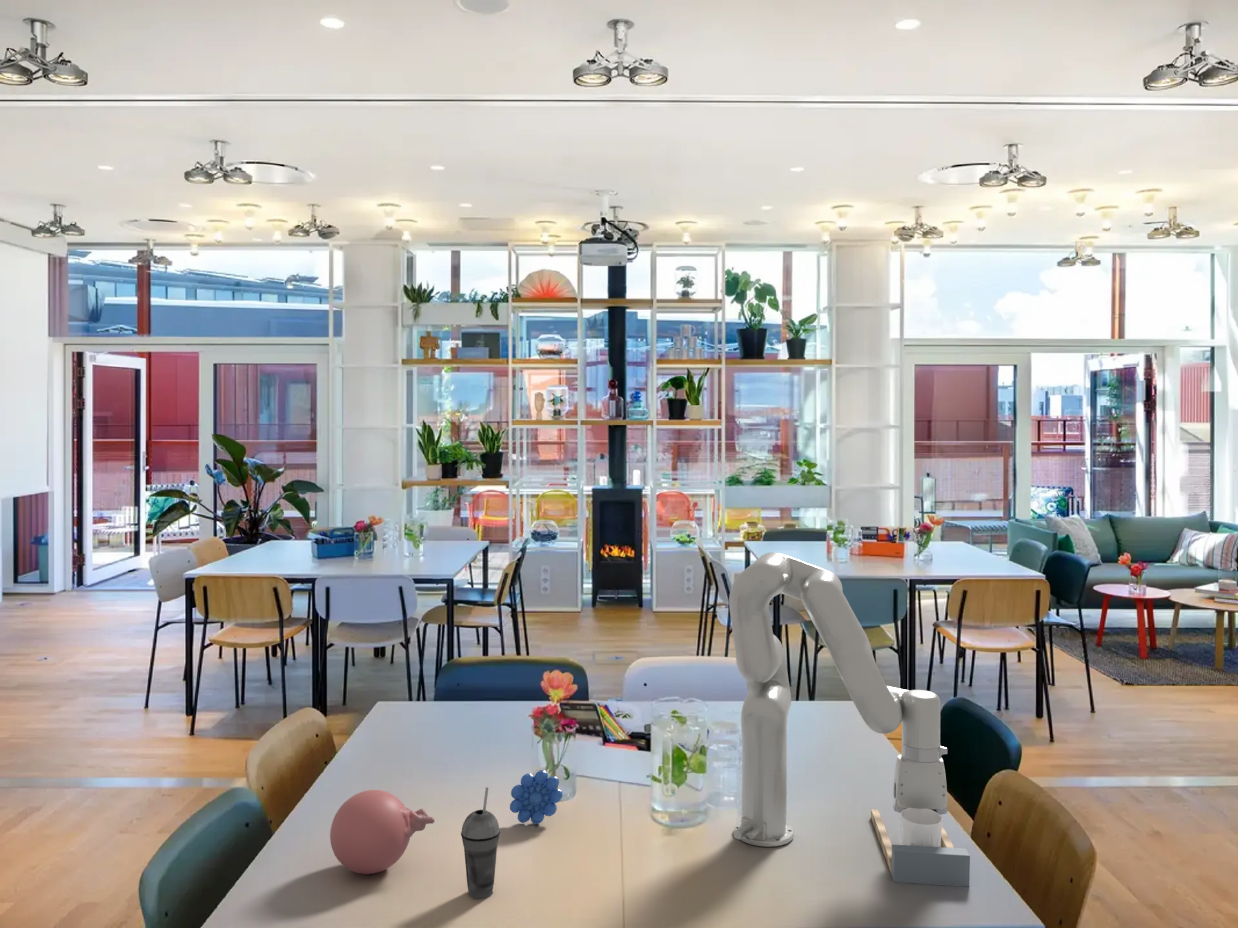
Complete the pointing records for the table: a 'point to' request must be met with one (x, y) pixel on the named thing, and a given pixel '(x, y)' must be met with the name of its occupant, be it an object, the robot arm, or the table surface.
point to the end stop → (930, 865)
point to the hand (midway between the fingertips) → (919, 839)
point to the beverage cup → (480, 851)
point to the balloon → (374, 831)
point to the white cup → (921, 827)
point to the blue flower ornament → (535, 797)
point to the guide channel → (885, 839)
